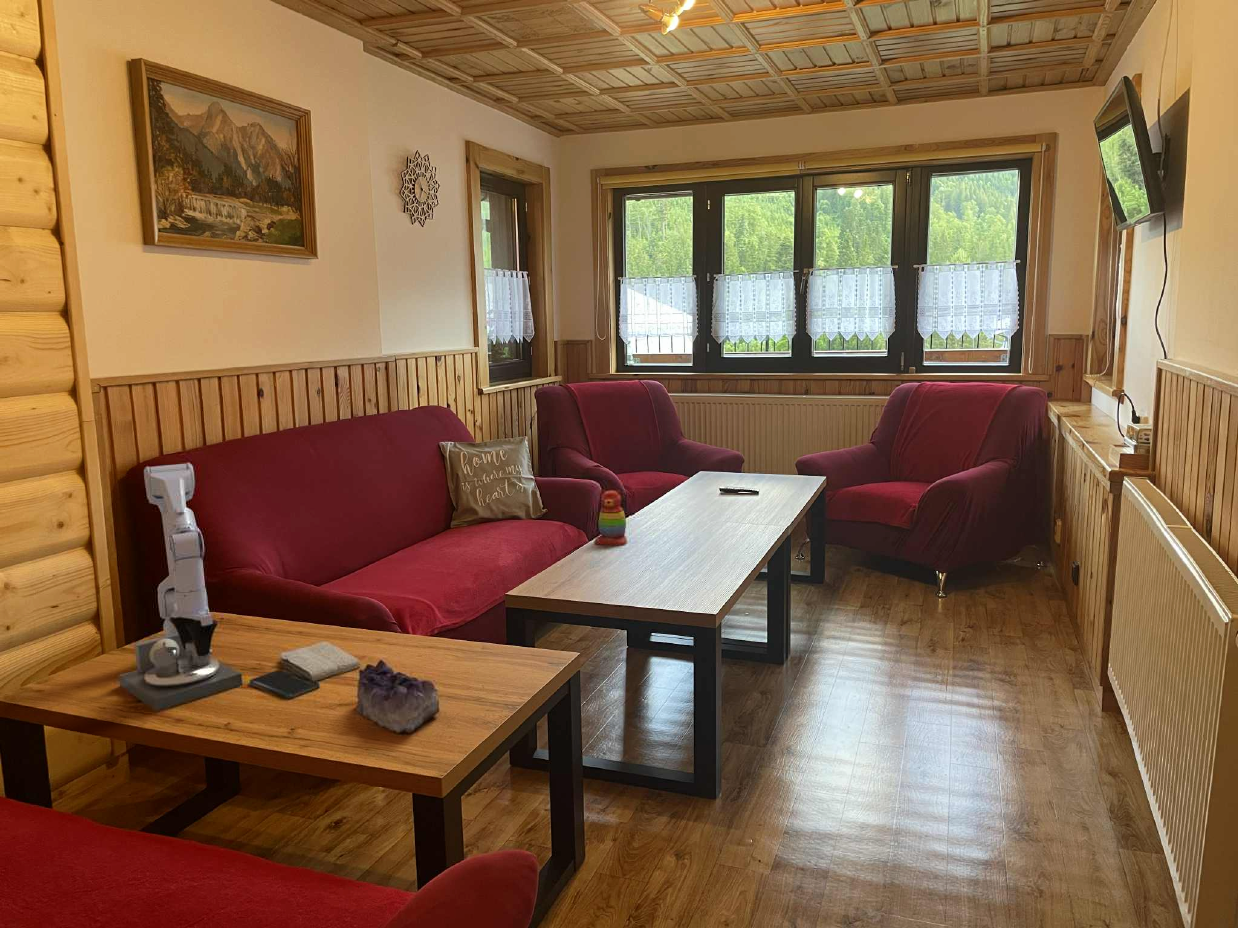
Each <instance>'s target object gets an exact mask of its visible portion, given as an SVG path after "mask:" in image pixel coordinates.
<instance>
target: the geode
mask: <svg viewBox="0 0 1238 928" xmlns="http://www.w3.org/2000/svg"><path fill="white" fill-rule="evenodd" d="M358 672H359V673H358V676H359V679H358V681H357V691H356V692H357V693H356V694H357V696H356V698H357V700H358V701H357V713H358V714H359V715H362V716H364V717H365V718H368V719H369V720H371V721H372V722H374V723H375V724H378V726H379V727H382V728H383V727H385V728H386V729H388V730H390V731H393V732H395V733H406V734H412V733H413V732H414V731H415V730H416V729H418V728H419V727H421V725H423V723H425V721H428V720H429V719H430V718H433V717H435V716H436V715H437V714H438V713H439V712H440V701H439V697H438V690H437V689H436V687H435V684H434V683H432V681H430V680H425V679H424V680H423V679H422V680H419V679H418V678H417V677H414V676H412V677H410V676H409V675H407V674H405V673H402V672H400V671H397V672H395V671H394V670H393V668H392V666H388V664H387V663H386V662H385V661H384V660H383V659H380V660H378V662H377V663H376V665H373V664H370V663H369V664H368V663H367V664H366V666H365V668H363V669H359V670H358Z"/></svg>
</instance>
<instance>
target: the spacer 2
mask: <svg viewBox="0 0 1238 928" xmlns="http://www.w3.org/2000/svg"><path fill="white" fill-rule="evenodd" d="M186 653H187V662H188V668H192V669H196V668H202V667H206V666H208V665H210V664H211V659H210V657H211V653H210V652H209V654H208V655H204V656H201V657H199V656H198V655H197V653H196V649H195V645H194V641H193V640H190V641H188V642H186Z"/></svg>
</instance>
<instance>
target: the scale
mask: <svg viewBox="0 0 1238 928" xmlns="http://www.w3.org/2000/svg"><path fill="white" fill-rule="evenodd" d="M164 647H176V648H177V654H178V660H180V659H186V658H187V653H186V649H184V648H183V645H182V643H181V640H180V637H179V634H178V633H174V634H170V635H166V636H164V635H163V636H158V637H156V638H152V639H147V640H143V641H139V642H136V643H134V650H135V651H134V652H135V661H136V662H135V663H136V668H137V669H136V670H132V671H128V672H125V673H121V674H119V675H118V678H119V679H118V680H119V681H118V682H119V686H120V688H122V689H123V690H125V691H127V692H128V693H129V694H131V695H132V696H134V697H135V698H137V699H138V700H140V701H141V702H142V703H144V704H146V705H147V706H149V707H150V708H151V709H153V710H155V711H156V712H161V711H163V710H167V709H170V708H172V707H176V706H180V705H182V704H185V703H189V702H193V701H195V700H200V699H202V698H206V697H208V696H212V695H214V694H217V693H221V692H224V691H228V690H230V689H234V688H237V687H239V686H242V685H243V676H242V675H243V674H242V673H241V672H240V671H238V670H236V669H234V668H232V667H230V666H228V665H226V664H224V663H222V662H220V661H218V660H217V661H218V662H219V670H218V671H217V672H216V673H215V674H213V675H211V676H210V677H207V678H205V679H203V680H200V681H197V682H193V683H189V684H184V685H178V686H167V687H161V686H152V685H149V684H147V683H146V682H145V677H144V676H145V674H146V673H147V672H148V671H149V670H150V669H152V668H154V667H155V666H154V657H153V652H154V651H155V650H157V649H160V648H164ZM210 658H212V659H214V658H213V657H211V656H210Z"/></svg>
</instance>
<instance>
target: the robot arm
mask: <svg viewBox="0 0 1238 928" xmlns="http://www.w3.org/2000/svg"><path fill="white" fill-rule="evenodd" d="M194 471H195V470H194V467H193V465H192V464H191V463H190V462H186V463H179V464H178V463H177V464H167V465H157V466H146V467H145V468H144V469H143V476H144V477H143V478H144V485H145V489H146V490H145V491H146V499H147V500H148V503H149V504H152V505H156V506H157V507H158V508H159V511H160V513H161V519H162V525H163V526H162V527H163V535H164V541H165V542H164V545H165V549H166V551H165V552H166V558H167V567H168V574H169V575H168V576H167V577H166V578H165V579H164V580H163V581H161V582H160V583H159V584H158V587H157V601H158V602H157V603H158V610H159V615H160V618H162V619H163V620H164V622H163V626H162V629H163V636H166V635H170V634H174V633H178V634H179V637H180V640H181V643H182V645H183V648H184V649H186V642H188V641H190V640H193V641H194V645H195V649H196V653H197V655H198V656H199V657H201V656H204V655H208V654H209V652H210V654H211V653H213V649H211V646H212V645H211V644H212V639H213V635H214V633H215V630H216V628H217V626H218V621H217V620H215V619H213V615H212V614H211V612H210V609H209V603H208V601H209V600H208V595H207V589H206V584H205V581H206V580H205V573H204V562H203V558H204V555H205V544H204V538H203V537H204V536H203V535H202V532H201V530H200V529H199V527H198V526H197V523H196V518H195V514H194V512H193V510H192V509H190V508H189V507H187V504H186V503H187V501H189V500H191V499H193V495H194V492H195V487H196V486H195V485H196V483H195V472H194ZM173 588H174V589H173ZM169 589H172V590H169Z"/></svg>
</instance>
